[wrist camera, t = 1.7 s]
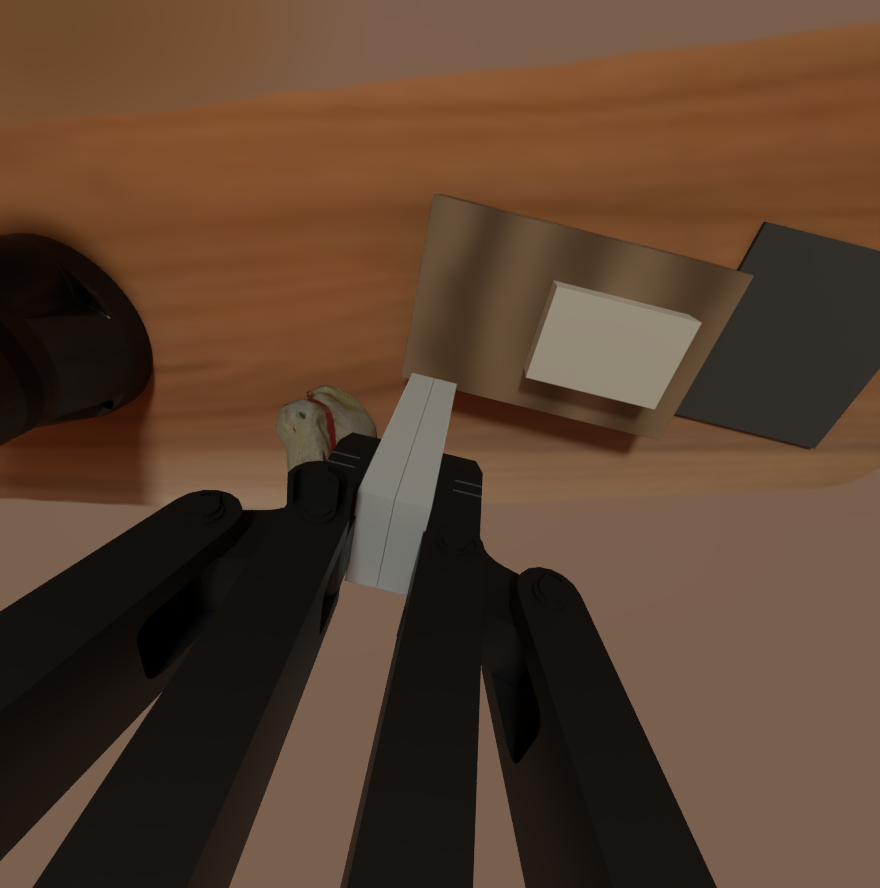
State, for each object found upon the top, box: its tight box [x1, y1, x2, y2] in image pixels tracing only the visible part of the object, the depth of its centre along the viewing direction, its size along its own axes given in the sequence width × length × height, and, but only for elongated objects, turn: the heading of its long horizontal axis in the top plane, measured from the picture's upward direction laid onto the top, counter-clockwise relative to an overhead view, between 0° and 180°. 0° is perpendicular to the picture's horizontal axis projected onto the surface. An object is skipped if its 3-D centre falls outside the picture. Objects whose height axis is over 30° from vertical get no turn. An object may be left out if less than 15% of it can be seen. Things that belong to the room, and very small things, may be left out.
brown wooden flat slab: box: [401, 194, 754, 440], centre depth 30 cm, size 20×12×4 cm, turn 78°
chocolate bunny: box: [276, 386, 377, 471], centre depth 34 cm, size 6×8×10 cm
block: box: [524, 280, 701, 409], centre depth 28 cm, size 9×6×2 cm, turn 78°
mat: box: [675, 222, 880, 449], centre depth 31 cm, size 13×14×1 cm
